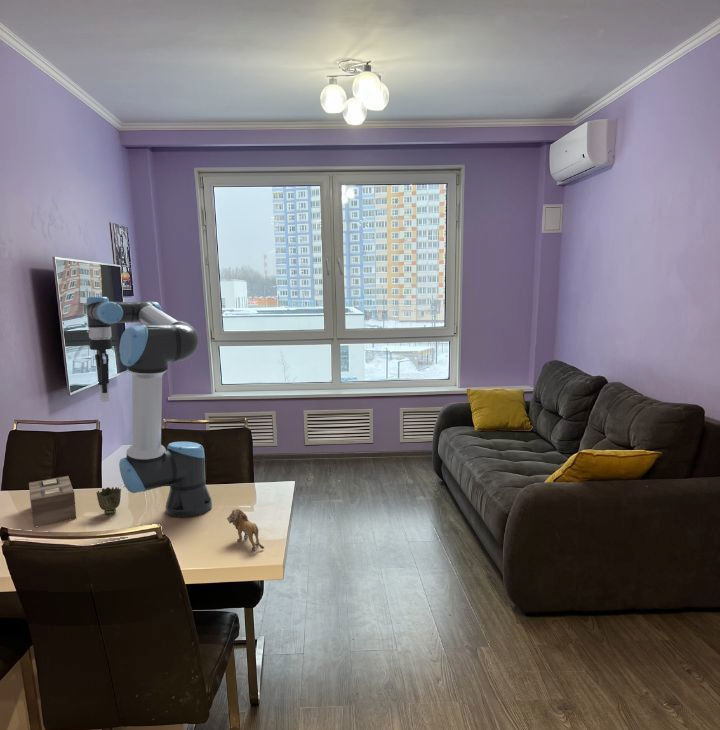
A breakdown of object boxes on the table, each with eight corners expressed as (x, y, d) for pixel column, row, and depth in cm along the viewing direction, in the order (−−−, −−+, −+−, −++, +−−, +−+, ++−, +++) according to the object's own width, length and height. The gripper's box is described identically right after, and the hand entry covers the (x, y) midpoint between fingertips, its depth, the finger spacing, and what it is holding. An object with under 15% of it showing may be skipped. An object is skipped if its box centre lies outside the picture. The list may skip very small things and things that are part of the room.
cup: (110, 519, 170) (108, 495, 169) (93, 516, 173) (91, 493, 172) (127, 510, 177) (125, 488, 176) (110, 507, 180) (108, 485, 179)
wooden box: (76, 518, 171) (74, 491, 170) (33, 527, 164) (31, 499, 163) (70, 499, 187) (68, 475, 186) (31, 507, 181) (28, 481, 180)
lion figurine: (225, 539, 155) (224, 510, 154) (239, 532, 159) (238, 504, 158) (257, 553, 146) (256, 523, 145) (271, 546, 150) (270, 517, 149)
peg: (58, 504, 179) (56, 482, 178) (45, 507, 177) (43, 484, 176) (57, 500, 182) (55, 479, 182) (44, 503, 180) (42, 481, 179)
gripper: (86, 338, 194) (90, 400, 197) (91, 340, 184) (96, 405, 187) (108, 337, 199) (112, 397, 201) (114, 339, 188) (119, 402, 191)
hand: (104, 401), depth 194 cm, fingers closed
